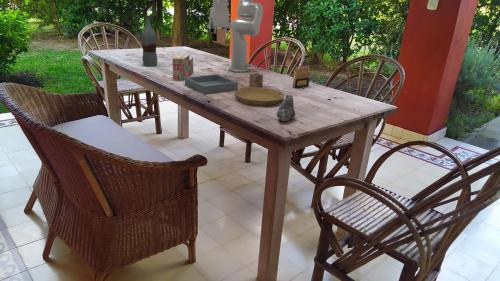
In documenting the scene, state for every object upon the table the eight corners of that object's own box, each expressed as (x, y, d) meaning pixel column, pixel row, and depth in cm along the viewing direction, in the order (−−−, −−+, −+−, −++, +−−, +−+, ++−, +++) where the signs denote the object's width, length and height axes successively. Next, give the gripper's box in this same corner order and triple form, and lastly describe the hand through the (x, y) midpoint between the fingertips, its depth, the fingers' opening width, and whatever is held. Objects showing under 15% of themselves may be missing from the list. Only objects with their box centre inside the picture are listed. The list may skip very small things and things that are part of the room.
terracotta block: (220, 41, 202) (220, 28, 199) (225, 42, 198) (225, 29, 196) (212, 41, 199) (212, 28, 196) (217, 43, 195) (217, 29, 193)
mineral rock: (282, 125, 147) (284, 100, 143) (263, 117, 154) (265, 94, 150) (303, 119, 155) (306, 95, 151) (284, 112, 162) (286, 89, 158)
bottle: (140, 64, 236) (137, 15, 224) (153, 63, 242) (150, 15, 230) (147, 67, 230) (144, 16, 218) (160, 66, 235) (158, 16, 224)
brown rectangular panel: (294, 88, 201) (297, 66, 196) (292, 87, 202) (294, 65, 198) (308, 86, 207) (311, 65, 202) (306, 85, 208) (308, 64, 204)
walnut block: (256, 85, 203) (257, 72, 200) (262, 87, 199) (263, 74, 196) (249, 86, 200) (249, 73, 197) (255, 88, 196) (255, 75, 193)
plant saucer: (255, 90, 194) (255, 84, 193) (293, 100, 180) (294, 94, 179) (223, 99, 176) (223, 92, 175) (263, 111, 163) (264, 103, 161)
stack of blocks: (183, 72, 224) (182, 51, 219) (193, 72, 223) (193, 52, 218) (172, 80, 204) (172, 57, 199) (184, 81, 204) (183, 58, 199)
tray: (216, 81, 207) (216, 74, 205) (237, 89, 192) (238, 82, 191) (184, 85, 195) (184, 77, 194) (204, 94, 181) (204, 86, 179)
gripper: (229, 5, 199) (228, 39, 206) (202, 3, 190) (201, 40, 196) (237, 5, 194) (235, 41, 201) (209, 4, 184) (208, 42, 191)
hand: (218, 40), depth 198 cm, fingers closed on terracotta block, 5 cm apart
